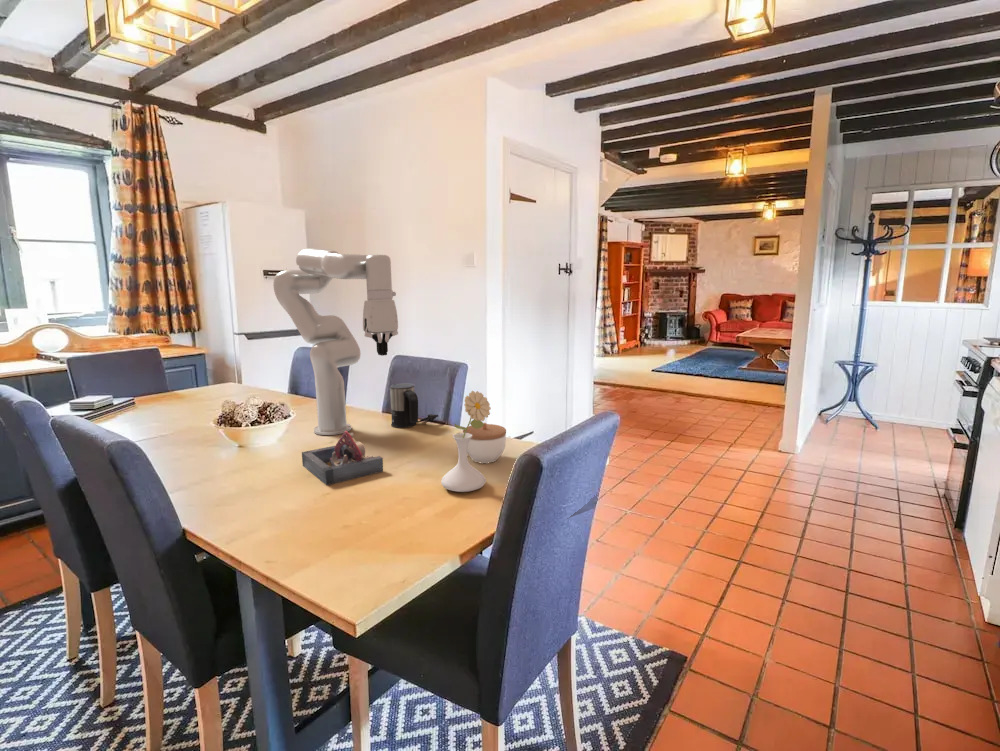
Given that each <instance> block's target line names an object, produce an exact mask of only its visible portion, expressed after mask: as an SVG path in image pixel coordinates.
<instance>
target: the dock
mask: <svg viewBox="0 0 1000 751" xmlns="http://www.w3.org/2000/svg"><path fill="white" fill-rule="evenodd" d="M335 446H336V445H331V446H327V447H320V448H317V449H312V450H306V451H301V462H302V466H303V467H304V468H305V469H306V470H308V472H310V473H311V474H312V475H313V476H314V477H316V479H318V480H320V482H321V483H323V484H324V485H325V486H330V485H333V484H339V483H343V482H346V481H351V480H355V479H359V478H362V477H363V478H364V477H367V476H371V475H375V474H379V473H383V472H384V462H383V461H384V460H383V459H384V458H383V457H382V456H380V455H377V456H373V458H368V459H364V460H359V461H355V462H350V463H346V464H341V465H337V466H332V467H331V465H328V464H327V463H331V461H330V458H332V453H333V452H335ZM344 446H345V445H344ZM341 449H342V452H343V451H344V447H341Z"/></svg>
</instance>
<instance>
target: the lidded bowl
mask: <svg viewBox="0 0 1000 751" xmlns="http://www.w3.org/2000/svg"><path fill="white" fill-rule="evenodd" d="M483 423H484V425H483V426H482V427H481V428H479V429H475V428H473V427H472V426H471V425H469V427H468V429H467V431H466V433H470V434H472V435H473V436H472V438H471V439H470V441H469V444H468V450H467V456H468V457H470V458H471V459H472V461H473V460H474V461H476V462H481V463H480V464H483V463H486V464H489V463H488V462H493V463H495V462H497V461H498V459H499V458H500V457H501V455H502V454H503V452H504V450H505V447H506V438H507V437H506V436H507V429H506V428H505V427H504V426H502V425H498V424H492V423H486V422H483ZM465 427H466V428H467V426H465ZM464 432H465V430H463V429H462V433H464ZM496 460H497V461H496ZM474 461H473V462H474ZM494 461H495V462H494ZM476 462H475V463H476Z"/></svg>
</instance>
